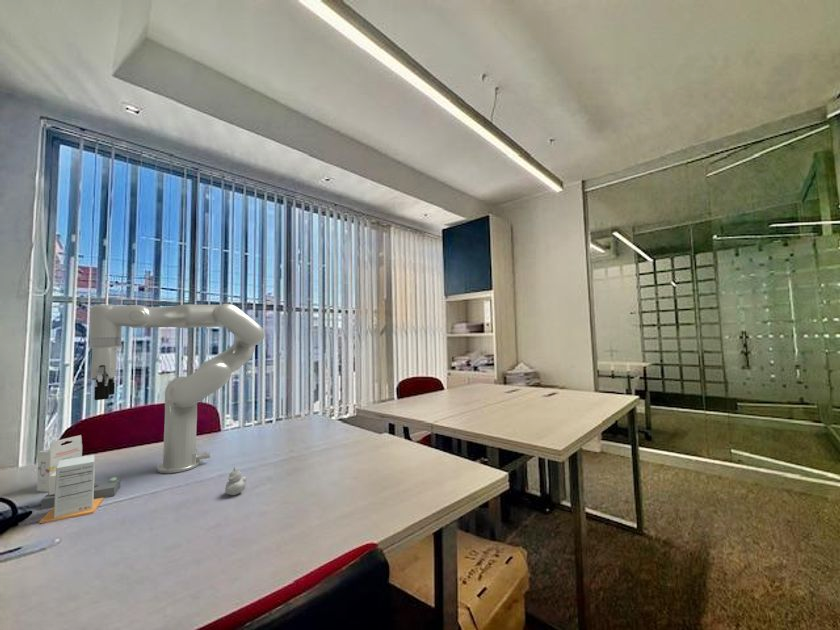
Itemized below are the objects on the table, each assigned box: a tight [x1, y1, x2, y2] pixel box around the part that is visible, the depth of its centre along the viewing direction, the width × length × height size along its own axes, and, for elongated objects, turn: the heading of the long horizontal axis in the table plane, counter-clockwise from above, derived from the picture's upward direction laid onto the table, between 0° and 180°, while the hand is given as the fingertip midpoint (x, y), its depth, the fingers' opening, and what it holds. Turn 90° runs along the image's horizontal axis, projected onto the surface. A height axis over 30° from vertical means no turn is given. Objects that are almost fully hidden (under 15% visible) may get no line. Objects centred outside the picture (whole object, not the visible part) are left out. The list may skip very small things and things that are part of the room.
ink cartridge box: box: [36, 434, 83, 493], centre depth 107 cm, size 9×5×15 cm, turn 169°
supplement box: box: [53, 454, 96, 518], centre depth 92 cm, size 7×7×13 cm
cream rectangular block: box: [48, 472, 56, 495], centre depth 97 cm, size 3×4×5 cm
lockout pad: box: [39, 497, 105, 525], centre depth 92 cm, size 10×9×1 cm
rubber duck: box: [224, 466, 247, 496], centre depth 102 cm, size 5×7×8 cm
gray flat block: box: [40, 476, 122, 510], centre depth 99 cm, size 15×7×3 cm, turn 119°
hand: (104, 397), depth 110 cm, fingers open, 9 cm apart
